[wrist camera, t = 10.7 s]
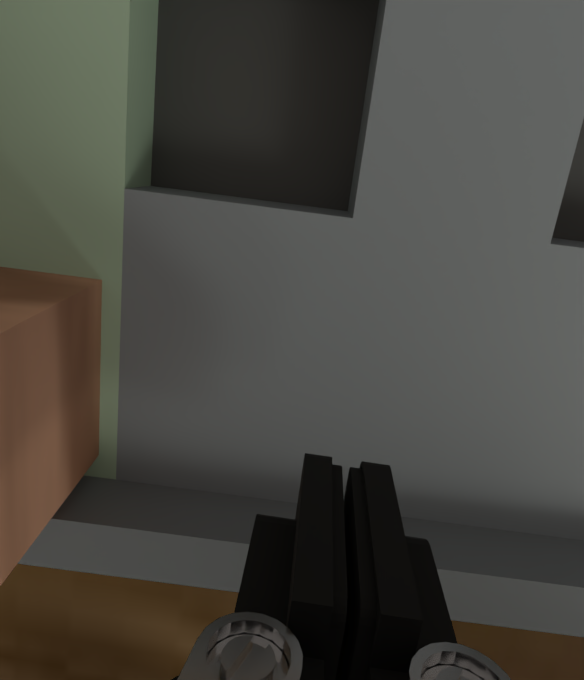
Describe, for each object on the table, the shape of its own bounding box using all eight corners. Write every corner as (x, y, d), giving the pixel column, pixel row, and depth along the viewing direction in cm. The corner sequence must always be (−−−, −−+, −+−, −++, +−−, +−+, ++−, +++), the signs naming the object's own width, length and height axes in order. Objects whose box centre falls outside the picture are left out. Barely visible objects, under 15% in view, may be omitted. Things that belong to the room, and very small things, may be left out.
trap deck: (1011, 22, 13) (1337, -45, 9) (763, 558, 18) (900, 678, 14) (-116, -123, 14) (-317, -258, 9) (-67, 451, 18) (-184, 537, 14)
